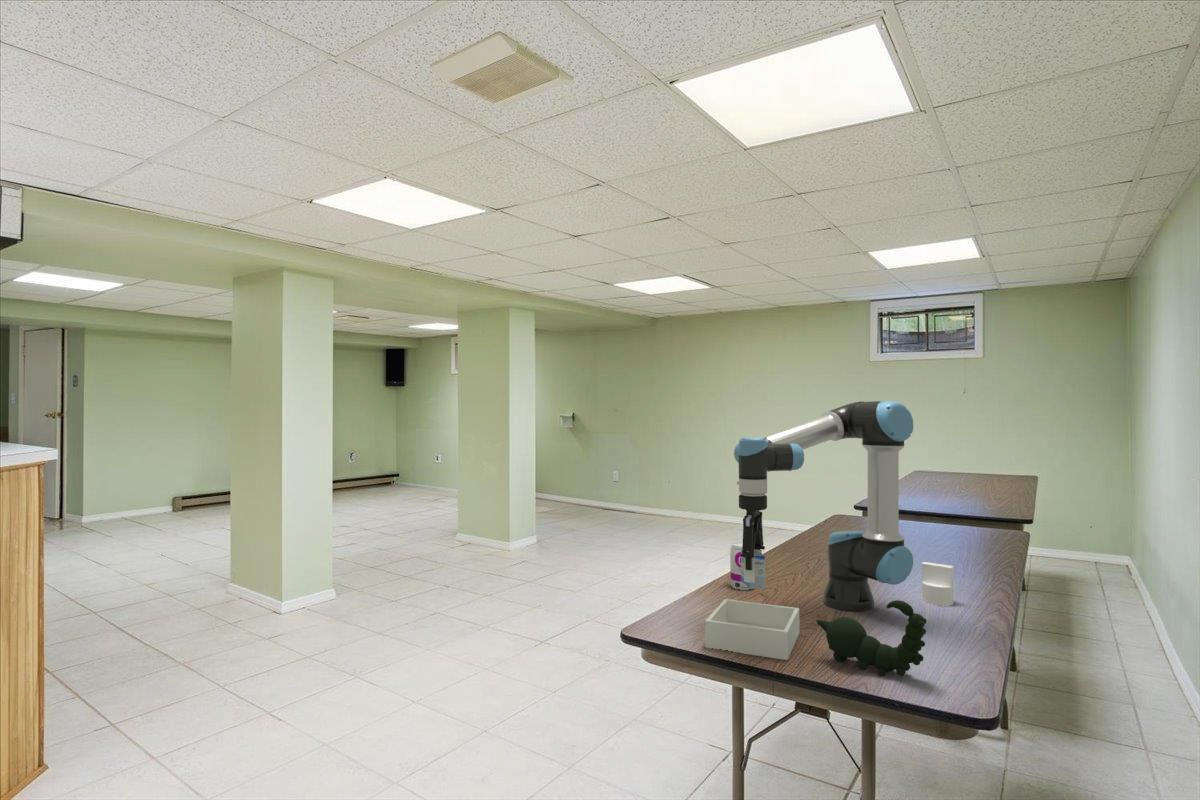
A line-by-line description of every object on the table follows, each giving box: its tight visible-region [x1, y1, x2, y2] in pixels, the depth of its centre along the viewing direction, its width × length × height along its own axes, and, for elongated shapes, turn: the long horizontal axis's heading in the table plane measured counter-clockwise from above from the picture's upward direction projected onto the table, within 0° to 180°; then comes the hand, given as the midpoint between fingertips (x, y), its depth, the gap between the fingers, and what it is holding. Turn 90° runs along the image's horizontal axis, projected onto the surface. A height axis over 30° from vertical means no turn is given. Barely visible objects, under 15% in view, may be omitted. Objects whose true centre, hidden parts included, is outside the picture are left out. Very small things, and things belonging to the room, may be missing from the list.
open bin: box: [704, 598, 800, 661], centre depth 175 cm, size 21×21×7 cm
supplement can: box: [729, 542, 754, 591], centre depth 226 cm, size 8×8×15 cm
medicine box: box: [741, 550, 766, 589], centre depth 175 cm, size 8×4×9 cm, turn 5°
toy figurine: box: [815, 599, 928, 677], centre depth 156 cm, size 9×19×25 cm
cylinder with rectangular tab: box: [921, 561, 955, 607], centre depth 208 cm, size 9×9×12 cm
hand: (753, 577), depth 175 cm, fingers closed on medicine box, 9 cm apart
